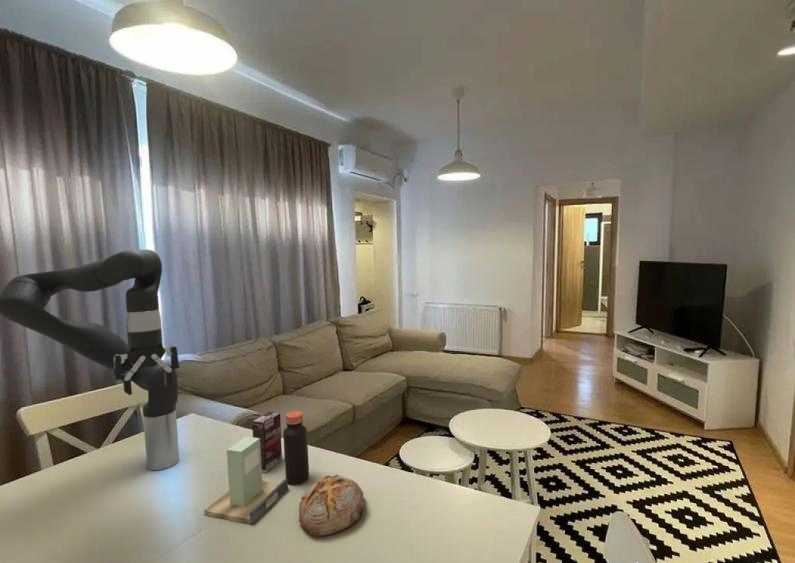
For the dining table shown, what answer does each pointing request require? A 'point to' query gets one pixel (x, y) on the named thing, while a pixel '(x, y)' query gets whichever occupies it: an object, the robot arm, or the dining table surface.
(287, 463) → the bottle
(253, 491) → the carton
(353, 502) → the bread
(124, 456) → the dining table surface
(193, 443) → the dining table surface
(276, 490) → the tan flat piece
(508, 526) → the dining table surface
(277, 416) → the supplement box
